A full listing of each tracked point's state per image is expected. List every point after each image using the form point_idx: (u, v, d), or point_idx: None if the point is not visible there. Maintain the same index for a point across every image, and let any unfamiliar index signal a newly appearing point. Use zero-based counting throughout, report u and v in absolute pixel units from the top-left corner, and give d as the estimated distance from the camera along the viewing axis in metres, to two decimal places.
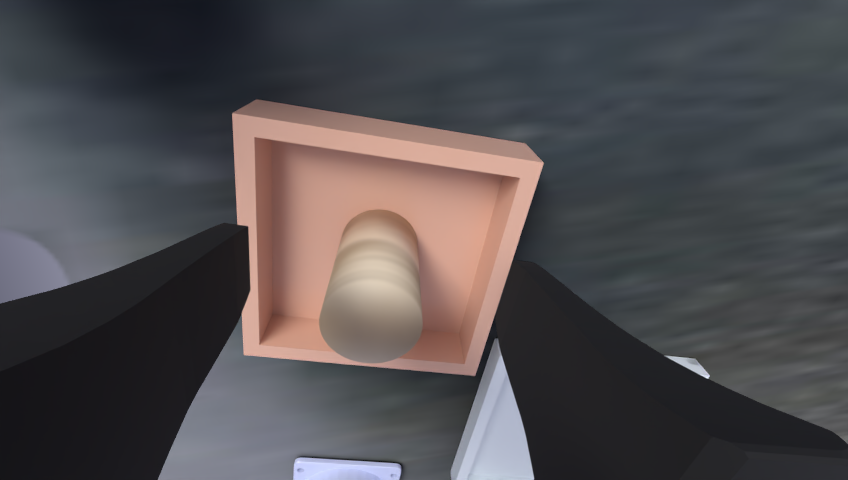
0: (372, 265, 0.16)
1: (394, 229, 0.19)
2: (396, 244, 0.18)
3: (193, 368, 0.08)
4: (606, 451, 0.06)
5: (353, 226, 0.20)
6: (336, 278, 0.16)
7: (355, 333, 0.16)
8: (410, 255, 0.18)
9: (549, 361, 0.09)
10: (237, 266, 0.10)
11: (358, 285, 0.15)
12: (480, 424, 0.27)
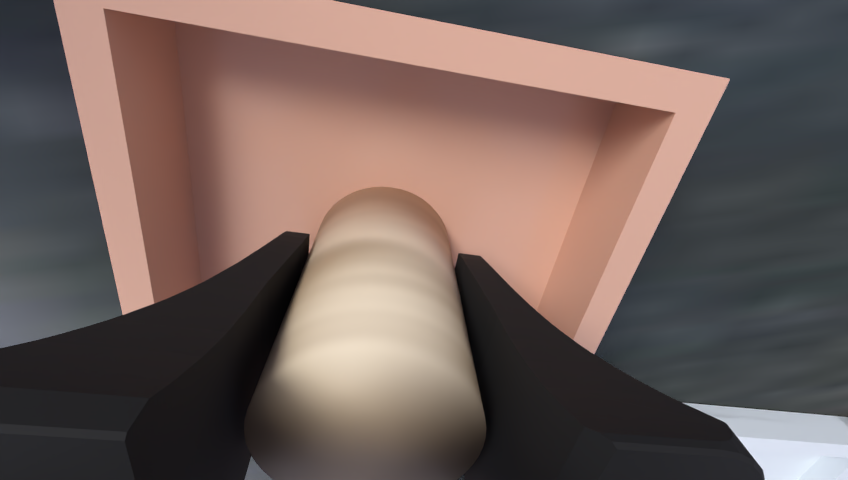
0: (370, 298, 0.07)
1: (413, 220, 0.10)
2: (418, 249, 0.09)
3: None
4: (512, 444, 0.06)
5: (336, 215, 0.11)
6: (289, 327, 0.07)
7: (332, 455, 0.07)
8: (446, 270, 0.09)
9: (479, 354, 0.08)
10: None
11: (334, 355, 0.06)
12: None
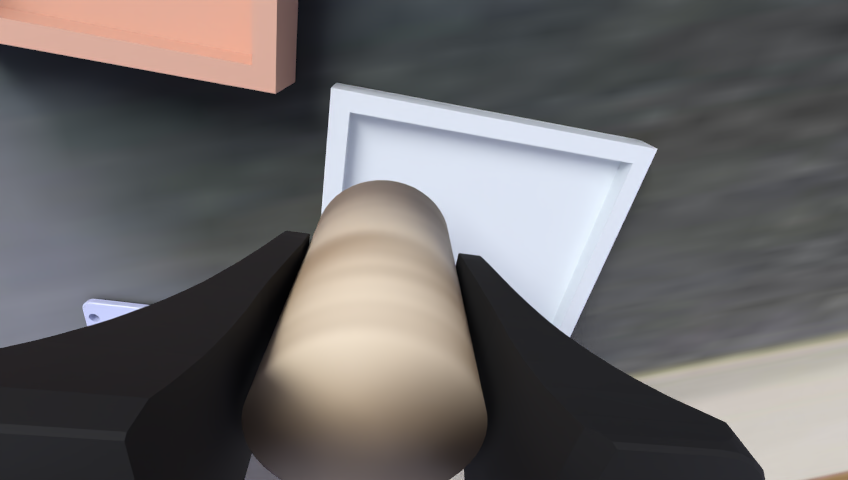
0: (362, 289, 0.07)
1: (408, 211, 0.10)
2: (414, 239, 0.09)
3: None
4: (513, 444, 0.06)
5: (332, 211, 0.11)
6: (283, 323, 0.07)
7: (332, 449, 0.07)
8: (443, 259, 0.09)
9: (480, 354, 0.08)
10: None
11: (325, 346, 0.06)
12: None
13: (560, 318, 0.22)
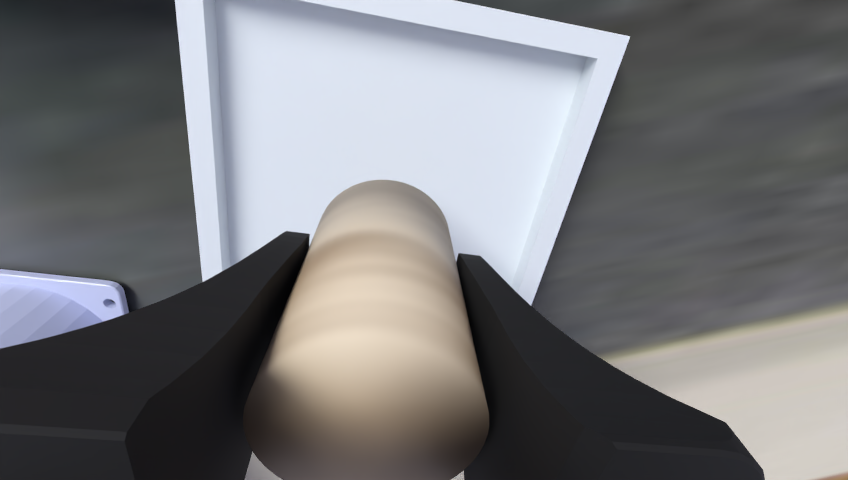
0: (362, 289, 0.07)
1: (409, 210, 0.10)
2: (414, 239, 0.09)
3: None
4: (512, 445, 0.06)
5: (332, 211, 0.11)
6: (284, 323, 0.07)
7: (334, 449, 0.07)
8: (444, 258, 0.09)
9: (479, 354, 0.08)
10: None
11: (326, 346, 0.06)
12: (200, 159, 0.14)
13: (519, 279, 0.18)
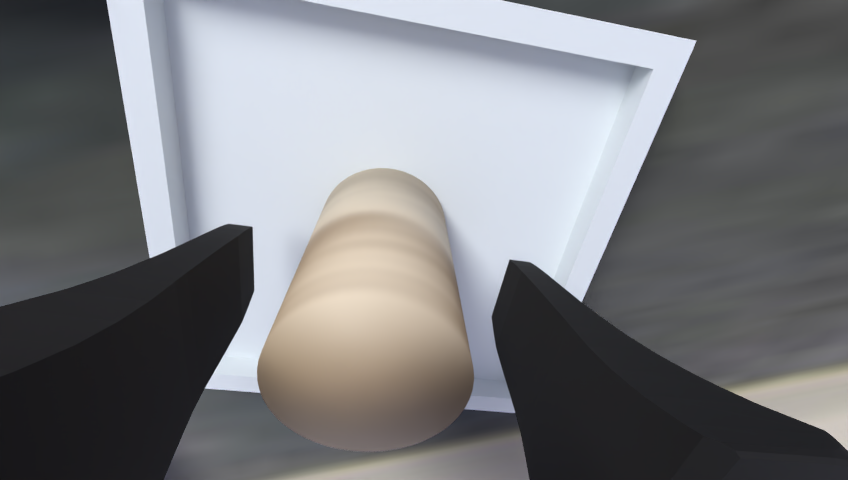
0: (362, 259, 0.08)
1: (406, 195, 0.11)
2: (410, 219, 0.10)
3: (198, 369, 0.08)
4: (600, 450, 0.06)
5: (336, 196, 0.11)
6: (292, 290, 0.08)
7: (337, 401, 0.08)
8: (437, 238, 0.10)
9: (544, 360, 0.09)
10: (242, 267, 0.10)
11: (330, 304, 0.07)
12: (150, 193, 0.11)
13: None
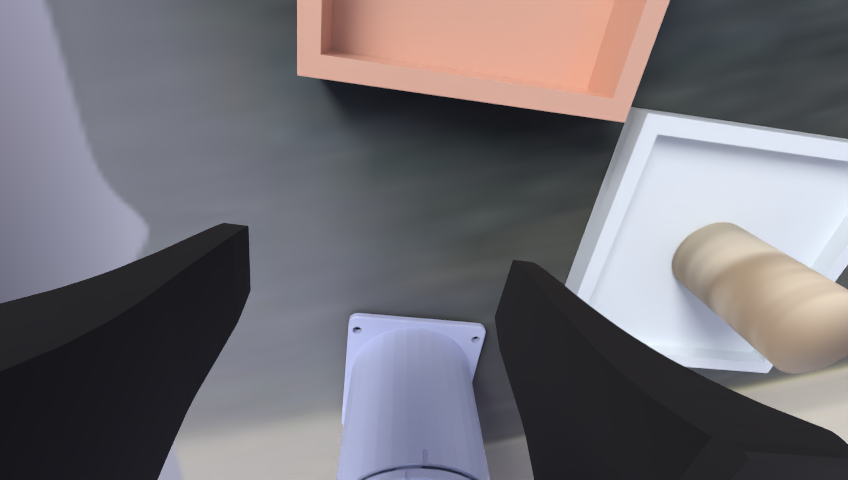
0: (813, 278, 0.16)
1: (762, 240, 0.20)
2: (788, 255, 0.18)
3: (193, 368, 0.08)
4: (606, 451, 0.06)
5: (713, 240, 0.20)
6: (774, 293, 0.17)
7: (802, 345, 0.16)
8: None
9: (549, 361, 0.09)
10: (237, 266, 0.10)
11: (831, 299, 0.15)
12: (603, 242, 0.20)
13: None
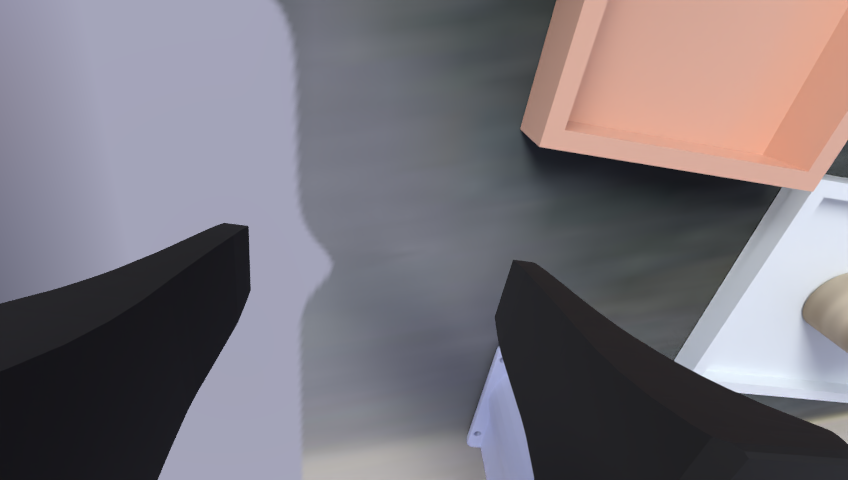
0: None
1: None
2: None
3: (193, 368, 0.08)
4: (606, 451, 0.06)
5: None
6: None
7: None
8: None
9: (549, 361, 0.09)
10: (237, 266, 0.10)
11: None
12: (753, 288, 0.22)
13: None
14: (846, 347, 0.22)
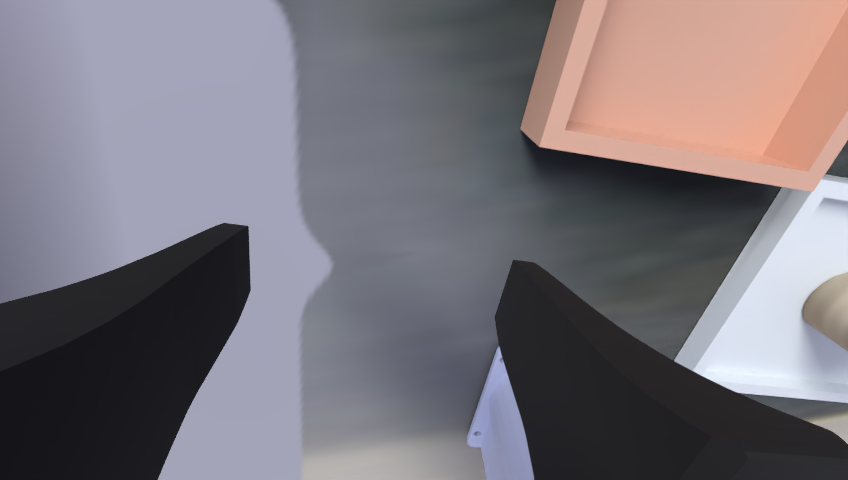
0: None
1: None
2: None
3: (193, 368, 0.08)
4: (606, 451, 0.06)
5: None
6: None
7: None
8: None
9: (549, 361, 0.09)
10: (237, 266, 0.10)
11: None
12: (753, 288, 0.22)
13: None
14: None
